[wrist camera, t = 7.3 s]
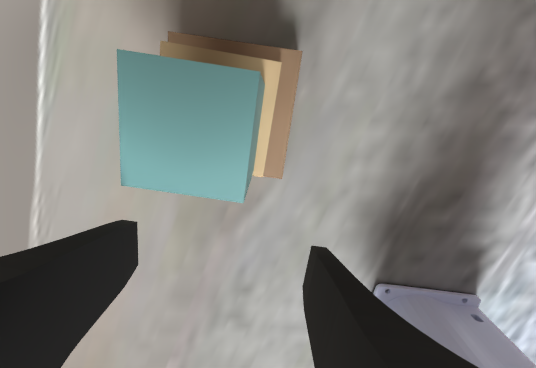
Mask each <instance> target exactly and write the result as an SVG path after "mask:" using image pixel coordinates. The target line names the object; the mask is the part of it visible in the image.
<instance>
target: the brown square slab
mask: <svg viewBox="0 0 536 368" xmlns="http://www.w3.org/2000/svg"><path fill="white" fill-rule="evenodd" d="M168 42H171V43H176V44H182V45H188V46H193V47H199V48H204V49H210V50H216V51H221V52H227V53H232V54H238V55H244V56H249V57H255V58H261V59H266V60H272V61H277V62H282V65H281V71H280V77H279V83H278V89H277V95H276V101H275V107H274V113H273V119H272V125H271V131H270V137H269V143H268V149H267V155H266V161H265V167H264V173H263V176H265V177H272V178H279V179H282V176H283V169H284V163H285V157H286V151H287V145H288V138H289V132H290V126H291V120H292V113H293V107H294V101H295V95H296V88H297V82H298V76H299V70H300V63H301V57H302V51H298V50H291V49H285V48H278V47H271V46H264V45H258V44H251V43H244V42H237V41H230V40H224V39H217V38H210V37H203V36H197V35H190V34H183V33H176V32H169V31H168Z"/></svg>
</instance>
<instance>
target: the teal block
mask: <svg viewBox="0 0 536 368" xmlns="http://www.w3.org/2000/svg"><path fill="white" fill-rule="evenodd" d="M117 72H118V103H119V135H120V167H121V185H122V186H129V187H136V188H142V189H149V190H156V191H163V192H170V193H177V194H184V195H191V196H198V197H205V198H212V199H219V200H226V201H233V202H239V203H244V200H245V196H246V193H247V190H248V187H249V184H250V181H251V177H252V174H253V171H254V164H255V157H256V149H257V142H258V134H259V127H260V119H261V112H262V104H263V97H264V89H265V83H264V81H263V78H262V76H261V73H260V71H253V70H247V69H241V68H234V67H228V66H221V65H215V64H209V63H202V62H196V61H190V60H183V59H177V58H171V57H164V56H158V55H151V54H145V53H139V52H132V51H126V50H120V49H117Z"/></svg>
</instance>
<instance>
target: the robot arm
mask: <svg viewBox="0 0 536 368" xmlns="http://www.w3.org/2000/svg"><path fill="white" fill-rule="evenodd" d="M137 266H138V237H137V222H134V221H127V220H119V221H115V222H112V223H108V224H105V225H102V226H99V227H96V228H93V229H90V230H87V231H84V232H81V233H78V234H75V235H72V236H69V237H66V238H63V239H60V240H57V241H53V242H50V243H47V244H44V245H40V246H37V247H34V248H31V249H27V250H24V251H20V252H17V253H13V254H9V255H6V256H2V257H0V368H61V366H62V365H63V364H64V362H65V361H66V359H67V358H68V356H69V355H70V353H71V352H72V351H73V349H74V348H75V347H76V346H77V344H78V343H79V342H80V340H81V339H82V338H83V337H84V335H85V334H86V333H87V332H88V331H89V329H90V328H91V327H92V326H93V325H94V323H95V322H96V321H97V320H98V319H99V317H100V316H101V315H102V314H103V312H104V311H105V310H106V309H107V308H108V306H109V305H110V304H111V303H112V302H113V300H114V299H115V298H116V297H117V295H118V294H119V293H120V292H121V290H122V289H123V288H124V287H125V285H126V284H127V282H128V280H129V279H130V277H131V276H132V274H133V272H134V271H135V269H136V267H137ZM387 289H388V290H387ZM385 290H387V291H385ZM303 301H304V312H305V318H306V323H307V329H308V334H309V340H310V345H311V350H312V355H313V361H314V366H315V368H536V365H535V364H534V363H533V362H532V361H531V360H530V359H529V358H528V357H527V356H526V355H525V354H524V353H523V352H522V351H521V350H520V349H519V348H518V347H517V346H516V345H515V344H514V343H513V342H512V341H511V340H510V339H509V338H508V337H507V336H506V335H505V334H504V333H503V332H502V331H501V330H500V329H499V328H498V327H497V326H496V325H495V324H494V323H493V322H492V321H491V320H490V319H489V318H488V317H487V316H486V315H485V314H484V313H483V312H482V311H481V310H480V309H479V308H478V307H479V305H480V302H481V299H480V298H479V297H478V296H477V295H472V294H464V293H456V292H448V291H439V290H431V289H423V288H415V287H406V286H398V285H390V284H378V285H377V286H376V287H375V290H374V293H372V292H371V291H369V290H368V289H367V288H366V287H365V286H364V285H363V284H362V283H361V282H360V281H359V280H358V279H357V278H356V277H355V276H354V275H353V274H352V273H351V272H350V271H349V270H348V269H347V268H346V267H345V266H344V265H343V264H342V263H341V262H340V261H339V260H338V259H337V258H336V257H335V256H334V255H333V254H332V253H331V252H330V251H329V250H328V249H327V248H325V247H318V246H311V251H310V255H309V260H308V264H307V269H306V274H305V278H304V283H303Z"/></svg>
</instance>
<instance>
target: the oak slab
mask: <svg viewBox="0 0 536 368" xmlns="http://www.w3.org/2000/svg"><path fill="white" fill-rule="evenodd" d="M160 56H164V57H171V58H177V59H183V60H190V61H196V62H202V63H209V64H215V65H221V66H228V67H234V68H241V69H247V70H253V71H260V73H261V76H262V78H263V81H264V83H265V89H264V97H263V104H262V112H261V119H260V127H259V134H258V142H257V149H256V157H255V164H254V171H253V174H252V176H257V177H263V173H264V167H265V161H266V155H267V149H268V143H269V137H270V131H271V125H272V119H273V113H274V107H275V101H276V95H277V89H278V83H279V77H280V71H281V65H282V62H277V61H272V60H266V59H261V58H255V57H249V56H244V55H238V54H232V53H227V52H221V51H216V50H210V49H204V48H199V47H193V46H188V45H182V44H176V43H171V42H165V41H161V42H160Z"/></svg>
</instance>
